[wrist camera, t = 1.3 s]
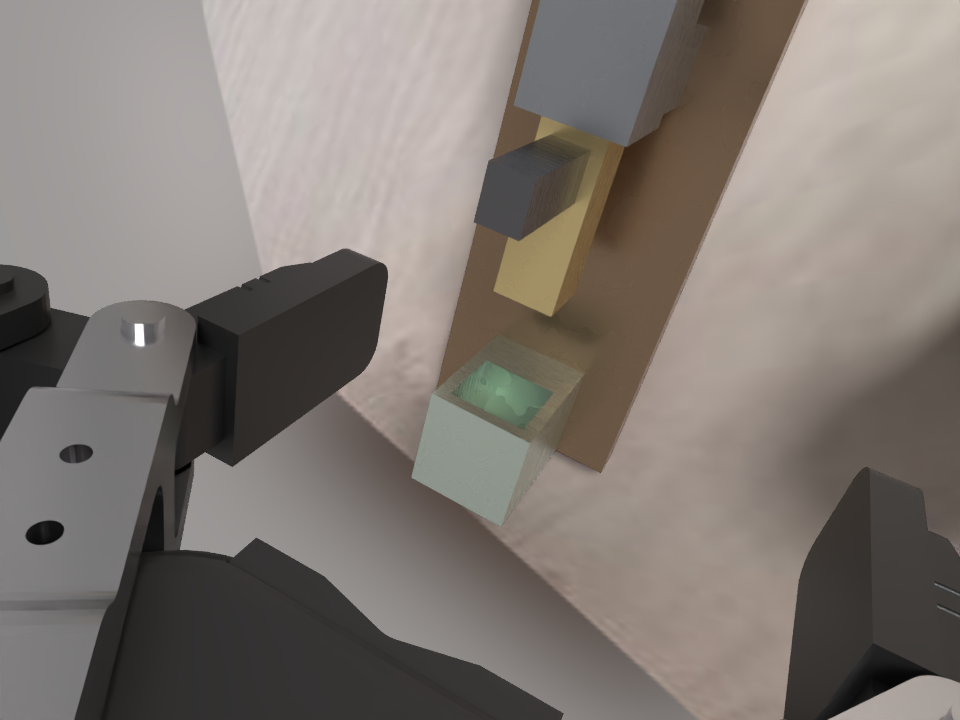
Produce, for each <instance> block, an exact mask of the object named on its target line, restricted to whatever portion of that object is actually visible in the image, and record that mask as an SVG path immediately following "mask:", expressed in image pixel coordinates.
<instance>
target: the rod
mask: <svg viewBox="0 0 960 720" xmlns="http://www.w3.org/2000/svg"><path fill="white" fill-rule="evenodd" d="M624 147H625V146H622V145H619V144H617V143H614V142H611V141H608V140H606V139H603V138H600V137H598V136H595V135H592V134H589V133H587V132H584V131H581V130H579V129H576V128H573V127H571V126H568V125H565V124H562V123H560V122H557V121H554V120H552V119H549V118H546V117H543V116H541V120H540V123H539V127H538V131H537V134H536V138H535V141H534V142H532V143H529V144H527V145H525V146H522V147H520V148H517V149H515V150H513V151H510V152H508V153H506V154H503V155H501V156H499V157H496V158H494V159H491V160H489V162H488V166H487V170H486V174H485V178H484V183H483V187H482V191H481V195H480V199H479V203H478V207H477V211H476V215H475V219H474V222H475V223H477V224H479V225H482V226H484V227H486V228H489V229H491V230H493V231H496V232H498V233H500V234H503V235H505V236H507V237H508V240H507V244H506V247H505V251H504V254H503V258H502V262H501V265H500V269H499V273H498V276H497V280H496V284H495V287H494V292H497V293H499V294H501V295H503V296H505V297H508V298H510V299H512V300H514V301H516V302H519V303H521V304H523V305H525V306H528V307H530V308H532V309H534V310H536V311H539V312H541V313H543V314H545V315H548V316H550V317H552V316H553V315H554V314H555V313H556V312H557V311H558V310H559V309H560V308H561V307H562V306H563V305H564V304H565V303H566V302H567V301H568V300H569V299H570V298H571V297H572V296H573V295H574V293H575V290H576V287H577V284H578V281H579V278H580V275H581V273H582V270H583V267H584V264H585V261H586V258H587V255H588V252H589V249H590V246H591V243H592V241H593V238H594V235H595V232H596V229H597V226H598V223H599V220H600V217H601V214H602V211H603V209H604V206H605V203H606V200H607V197H608V194H609V191H610V188H611V185H612V182H613V179H614V177H615V174H616V171H617V168H618V165H619V162H620V159H621V156H622V153H623V150H624Z"/></svg>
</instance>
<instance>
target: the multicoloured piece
mask: <svg viewBox="0 0 960 720" xmlns="http://www.w3.org/2000/svg"><path fill="white" fill-rule="evenodd" d="M807 2H808V0H532V4H531V8H530V12H529V16H528V20H527V24H526V28H525V32H524V36H523V40H522V44H521V49H520V53H519V57H518V61H517V65H516V69H515V73H514V77H513V81H512V85H511V89H510V93H509V97H508V101H507V105H506V109H505V113H504V117H503V121H502V126H501V130H500V134H499V138H498V142H497V146H496V150H495V154H494V158H496V157H499V156H501V155H503V154H506V153H508V152H510V151H513V150H515V149H517V148H520V147H522V146H525V145H527V144H529V143H532V142H534V141H535V138H536V134H537V131H538V127H539V123H540V120H541V116H543V117H546V118H549V119H552V120H554V121H557V122H560V123H562V124H565V125H568V126H571V127H573V128H576V129H579V130H581V131H584V132H587V133H589V134H592V135H595V136H598V137H600V138H603V139H606V140H608V141H611V142H614V143H617V144H619V145H622V146H625V147H624V150H623V153H622V156H621V159H620V162H619V165H618V168H617V171H616V174H615V177H614V179H613V182H612V185H611V188H610V191H609V194H608V197H607V200H606V203H605V206H604V209H603V211H602V214H601V217H600V220H599V223H598V226H597V229H596V232H595V235H594V238H593V241H592V243H591V246H590V249H589V252H588V255H587V258H586V261H585V264H584V267H583V270H582V273H581V275H580V278H579V281H578V284H577V287H576V290H575V293H574V295H573V296H572V297H571V298H570V299H569V300H568V301H567V302H566V303H565V304H564V305H563V306H562V307H561V308H560V309H559V310H558V311H557V312H556V313H555V314H554V315H553V316H552V317H550V316H548V315H545V314H543V313H541V312H539V311H536V310H534V309H532V308H530V307H528V306H525V305H523V304H521V303H519V302H516V301H514V300H512V299H510V298H508V297H505V296H503V295H501V294H499V293H497V292H494V287H495V284H496V280H497V276H498V273H499V269H500V265H501V262H502V258H503V254H504V251H505V247H506V244H507V240H508V237H507V236H505V235H503V234H500V233H498V232H496V231H493V230H491V229H489V228H486V227H484V226H482V225H479V224H477V227H476V231H475V235H474V239H473V243H472V247H471V251H470V255H469V259H468V263H467V267H466V271H465V275H464V279H463V284H462V288H461V292H460V296H459V300H458V304H457V308H456V312H455V316H454V320H453V324H452V328H451V332H450V336H449V340H448V344H447V348H446V352H445V356H444V361H443V365H442V369H441V373H440V377H439V381H438V385H437V389H436V390H435V391H434V392H433V393H432V395H431V399H430V403H429V407H428V411H427V415H426V419H425V423H424V427H423V432H422V436H421V440H420V444H419V448H418V452H417V456H416V460H415V464H414V469H413V473H412V478H413V479H415V480H417V481H418V482H420V483H422V484H424V485H426V486H428V487H429V488H431V489H433V490H435V491H436V492H438V493H440V494H442V495H444V496H446V497H447V498H449V499H451V500H453V501H455V502H457V503H458V504H460V505H462V506H464V507H466V508H467V509H469V510H471V511H473V512H475V513H477V514H478V515H480V516H482V517H484V518H486V519H488V520H489V521H491V522H493V523H495V524H497V525H498V526H500V527H501V526H502V525H503V523H504V522H505V520H506V519H507V518H508V516H509V515H510V513H511V512H512V511H513V509H514V508H515V506H516V505H517V504H518V502H519V501H520V499H521V498H522V497H523V495H524V494H525V492H526V491H527V490H528V488H529V487H530V486H531V484H532V483H533V481H534V480H535V479H536V477H537V476H538V474H539V473H540V472H541V470H542V469H543V467H544V466H545V465H546V463H547V462H548V460H549V459H550V458H551V456H552V455H553V453H554V452H555V451H558V452H560V453H562V454H564V455H566V456H568V457H570V458H572V459H574V460H576V461H578V462H580V463H582V464H584V465H586V466H588V467H590V468H592V469H594V470H596V471H598V472H600V473H601V472H602V470H603V468H604V467H605V465H606V463H607V462H608V460H609V458H610V456H611V454H612V451H613V449H614V447H615V444H616V442H617V440H618V437H619V435H620V433H621V431H622V428H623V426H624V424H625V421H626V419H627V417H628V414H629V412H630V410H631V408H632V405H633V403H634V401H635V398H636V396H637V394H638V391H639V389H640V387H641V385H642V382H643V380H644V378H645V375H646V373H647V371H648V368H649V366H650V364H651V361H652V359H653V357H654V355H655V352H656V350H657V348H658V345H659V343H660V341H661V338H662V336H663V334H664V332H665V329H666V327H667V325H668V322H669V320H670V318H671V315H672V313H673V311H674V309H675V306H676V304H677V302H678V299H679V297H680V295H681V292H682V290H683V288H684V285H685V283H686V281H687V279H688V276H689V274H690V272H691V269H692V267H693V265H694V262H695V260H696V258H697V256H698V253H699V251H700V249H701V246H702V244H703V242H704V239H705V237H706V235H707V233H708V230H709V228H710V226H711V223H712V221H713V219H714V216H715V214H716V212H717V209H718V207H719V205H720V203H721V200H722V198H723V196H724V193H725V191H726V189H727V186H728V184H729V182H730V180H731V177H732V175H733V173H734V170H735V168H736V166H737V163H738V161H739V159H740V157H741V154H742V152H743V150H744V147H745V145H746V143H747V140H748V138H749V136H750V133H751V131H752V129H753V127H754V124H755V122H756V120H757V117H758V115H759V113H760V110H761V108H762V106H763V104H764V101H765V99H766V97H767V94H768V92H769V90H770V87H771V85H772V83H773V81H774V78H775V76H776V74H777V71H778V69H779V67H780V64H781V62H782V60H783V57H784V55H785V53H786V51H787V48H788V46H789V44H790V41H791V39H792V37H793V34H794V32H795V30H796V28H797V25H798V23H799V21H800V18H801V16H802V14H803V11H804V9H805V7H806V5H807ZM494 158H493V159H494Z"/></svg>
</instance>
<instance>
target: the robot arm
mask: <svg viewBox="0 0 960 720" xmlns="http://www.w3.org/2000/svg"><path fill="white" fill-rule="evenodd" d="M387 281H388V271H387V267H386V266H385V265H384V264H383V263H381V262H378V261H376V260H374V259H371V258H369V257H366V256H364V255H362V254H359V253H357V252H354V251H352V250H350V249H341V250H339V251H337V252H335V253H333V254H330V255H328V256H326V257H324V258H322V259H320V260H317V261H315V262H313V263H304V264H297V265H290V266H284V267H280V268H278V269H276V270H273V271H271V272H269V273H267V274H264V275H262V276H260V278H259V280H258V279H256V278H255V279H253V280H251V281H248V282H246V283H244V284H242V287H241V288H240V287H235V288H233V289H231V290H228V291H226V292H223V293H221V294H219V295H217V296H214V297H212V298H210V299H208V300H205V301H203V302H201V303H199V304H196V305H194V306H192V307H190V308H187V309H185V310H183V309H182V308H179V307H177V306H174V305H171V304H168V303H163V302H158V301H146V300H138V301H126V302H120V303H115V304H112V305H109V306H107V307H104V308H102V309H100V310H98V311H97V312H95V313H94V314H93V315H92V316H91V317H87V316H83V315H78V314H74V313H69V312H65V311H61V310H57V309H53V308H50V299H49V291H48V283H47V281H46V280H45V278H44V277H43V276H41V275H40V274H38V273H36V272H35V271H32V270H29V269H26V268H22V267H17V266H11V265H0V720H561V719H562V716H563V713H562V712H560V711H558V710H556V709H555V708H553V707H551V706H550V705H548V704H546V703H544V702H543V701H541V700H539V699H537V698H536V697H534V696H532V695H530V694H529V693H527V692H525V691H523V690H522V689H520V688H518V687H516V686H515V685H513V684H511V683H509V682H508V681H506V680H504V679H502V678H501V677H499V676H497V675H495V674H494V673H492V672H490V671H488V670H487V669H485V668H483V667H481V666H479V665H476V664H473V663H469V662H466V661H463V660H460V659H457V658H453V657H450V656H447V655H444V654H440V653H437V652H434V651H431V650H428V649H424V648H421V647H418V646H415V645H411V644H408V643H405V642H402V641H398V640H396V639H393V638H390V637H389V636H387V635H385V634H384V633H383V632H381V631H380V630H379V629H378V628H377V627H376V626H375V625H374V624H373V623H372V622H371V621H370V620H369V619H368V618H367V617H366V616H364V614H363V613H361V612H360V611H359V610H358V609H357V608H356V607H355V606H354V605H353V604H352V603H351V602H350V601H349V600H348V599H347V598H346V597H345V596H344V595H343V594H342V593H341V592H340V591H339V590H338V589H337V588H336V587H335V586H334V585H333V584H332V583H331V582H329V581H328V580H327V579H326V578H325V577H324V576H322V575H321V574H319V573H317V572H316V571H314V570H312V569H310V568H308V567H307V566H305V565H303V564H302V563H300V562H298V561H296V560H295V559H293V558H291V557H289V556H288V555H286V554H284V553H282V552H281V551H279V550H277V549H275V548H274V547H272V546H270V545H268V544H267V543H265V542H263V541H261V540H260V539H258V538H255V539H254V540H253V541H252V542H251V543H250V544H248V545H247V546H246V547H245V548H244V549H243V550H242V551H240V552H239V553H238V554H237V555H236V556H235V557H234V558H233V557H230V556H226V555H221V554H216V553H210V552H203V551H190V550H180V546H181V540H182V535H183V530H184V524H185V519H186V514H187V508H188V503H189V498H190V492H191V487H192V482H193V477H194V459H195V458H197V457H198V456H200V455H201V454H203V453H204V452H206V453H208V454H210V455H211V456H213V457H215V458H217V459H219V460H221V461H223V462H224V463H226V464H228V465H230V466H232V467H233V466H234V465H236V464H237V463H238V462H240V461H241V460H242V459H244V458H245V457H246V456H248V455H249V454H251V453H252V452H254V451H255V450H256V449H258V448H259V447H260V446H262V445H263V444H265V443H266V442H267V441H269V440H270V439H271V438H273V437H274V436H276V435H277V434H278V433H280V432H281V431H282V430H284V429H285V428H287V427H288V426H289V425H290V424H292V423H293V422H295V421H296V420H298V419H299V418H301V417H302V416H303V415H305V414H306V413H307V412H309V411H310V410H312V409H313V408H314V407H316V406H317V405H318V404H320V403H321V402H323V401H324V400H325V399H327V398H328V397H329V396H331V395H332V394H334V393H335V392H336V391H338V390H339V389H341V388H342V387H343V386H345V385H346V384H347V383H349V382H350V381H352V380H353V379H354V378H356V377H357V376H358V375H360V374H361V373H362V372H363V371H364V370H365V368H366V367H367V366H368V364H369V363H370V361H371V359H372V357H373V355H374V352H375V350H376V346H377V342H378V336H379V330H380V324H381V318H382V312H383V306H384V300H385V294H386V288H387ZM781 720H960V556H959V555H958V553H957V552H956V550H955V549H954V547H953V546H952V544H951V543H950V541H949V540H948V539H946V538H944V537H942V536H939V535H937V534H935V533H932V532H930V531H928V528H927V521H926V513H925V505H924V497H923V492H922V491H921V490H920V489H918V488H916V487H913V486H911V485H908V484H906V483H904V482H901V481H899V480H896V479H894V478H892V477H889V476H887V475H885V474H882V473H880V472H877V471H875V470H873V469H870V468H868V467H865V468H863V469H862V470H861V471H860V472H859V473H858V474H857V476H856V477H855V479H854V480H853V482H852V483H851V485H850V486H849V488H848V490H847V491H846V493H845V494H844V496H843V498H842V499H841V501H840V502H839V504H838V505H837V507H836V509H835V510H834V512H833V513H832V515H831V517H830V518H829V520H828V521H827V523H826V525H825V526H824V528H823V529H822V531H821V533H820V534H819V536H818V537H817V539H816V541H815V542H814V544H813V546H812V547H811V549H810V551H809V553H808V556H807V558H806V560H805V563H804V565H803V568H802V571H801V575H800V579H799V584H798V593H797V602H796V611H795V620H794V629H793V638H792V647H791V656H790V665H789V675H788V684H787V693H786V702H785V711H784V719H781Z"/></svg>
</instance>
